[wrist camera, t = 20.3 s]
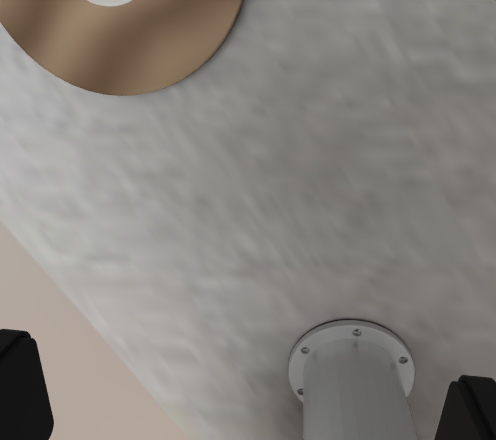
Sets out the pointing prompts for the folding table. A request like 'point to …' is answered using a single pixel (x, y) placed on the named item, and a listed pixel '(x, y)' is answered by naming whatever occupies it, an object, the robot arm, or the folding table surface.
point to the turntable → (119, 39)
